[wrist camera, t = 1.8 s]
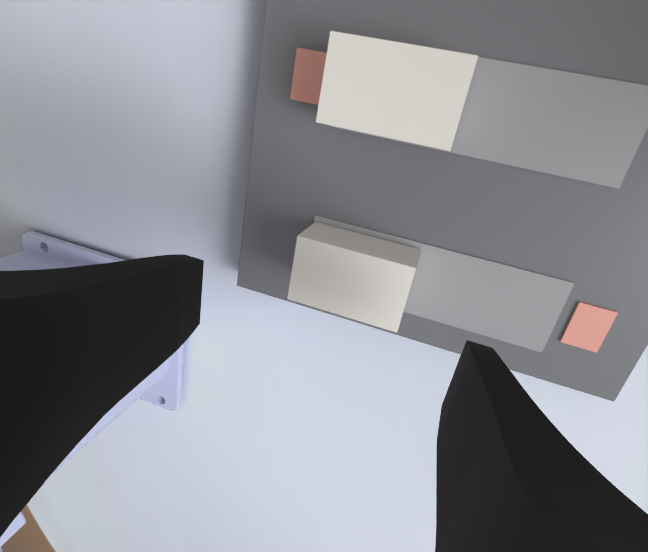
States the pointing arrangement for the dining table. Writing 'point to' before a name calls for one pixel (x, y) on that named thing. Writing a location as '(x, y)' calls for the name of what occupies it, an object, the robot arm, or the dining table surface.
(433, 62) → the knob
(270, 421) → the dining table surface
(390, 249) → the knob
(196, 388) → the dining table surface
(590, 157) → the switch unit
